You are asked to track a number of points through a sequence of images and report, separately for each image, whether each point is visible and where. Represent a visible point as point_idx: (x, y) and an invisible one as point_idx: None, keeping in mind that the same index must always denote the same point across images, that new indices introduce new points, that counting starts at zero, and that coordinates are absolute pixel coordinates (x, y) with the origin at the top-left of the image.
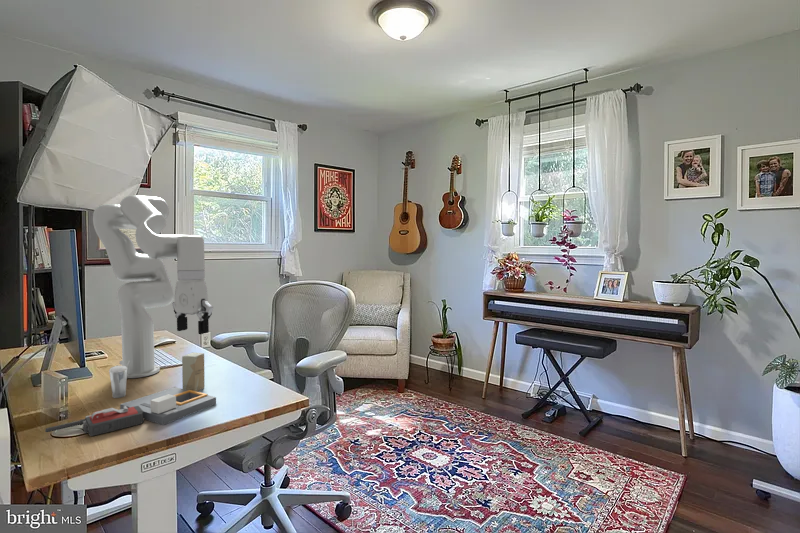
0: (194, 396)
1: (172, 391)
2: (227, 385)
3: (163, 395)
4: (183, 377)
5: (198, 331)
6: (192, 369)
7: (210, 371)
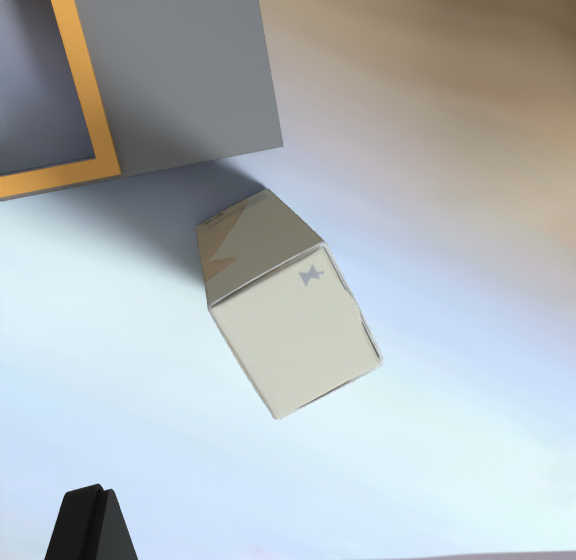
0: (48, 166)
1: (203, 92)
2: (180, 407)
3: (162, 8)
4: (275, 207)
5: (88, 509)
6: (213, 259)
7: (478, 441)
